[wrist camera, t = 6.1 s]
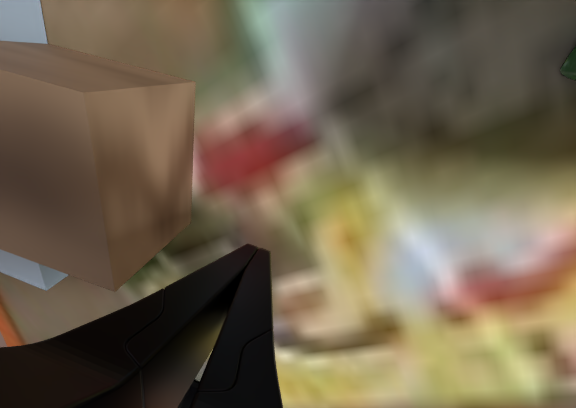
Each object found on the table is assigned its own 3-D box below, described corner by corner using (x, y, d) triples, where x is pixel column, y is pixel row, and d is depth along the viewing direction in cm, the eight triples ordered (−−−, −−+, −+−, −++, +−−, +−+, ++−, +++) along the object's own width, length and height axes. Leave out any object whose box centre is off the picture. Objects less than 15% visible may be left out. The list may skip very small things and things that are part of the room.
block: (192, 221, 17) (114, 291, 12) (79, 184, 18) (-40, 234, 12) (197, 81, 13) (83, 92, 8) (52, 44, 14) (-138, 31, 9)
